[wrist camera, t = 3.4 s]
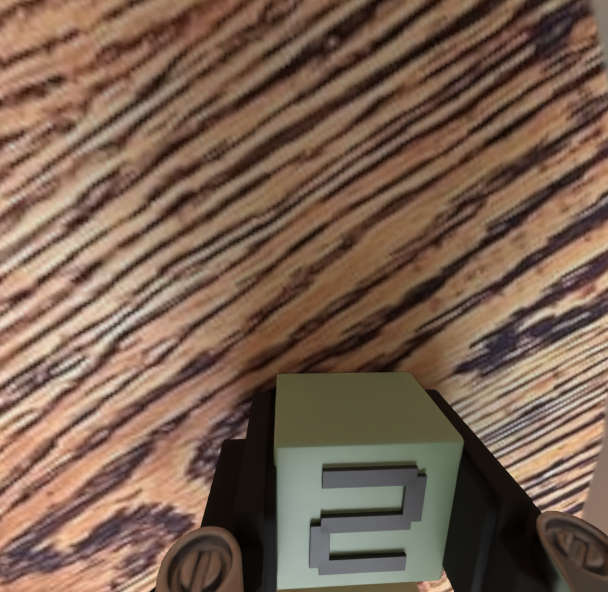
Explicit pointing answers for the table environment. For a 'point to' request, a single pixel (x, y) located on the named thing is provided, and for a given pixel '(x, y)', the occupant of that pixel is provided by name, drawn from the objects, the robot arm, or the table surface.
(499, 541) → the robot arm
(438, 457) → the green number block
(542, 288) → the table surface
